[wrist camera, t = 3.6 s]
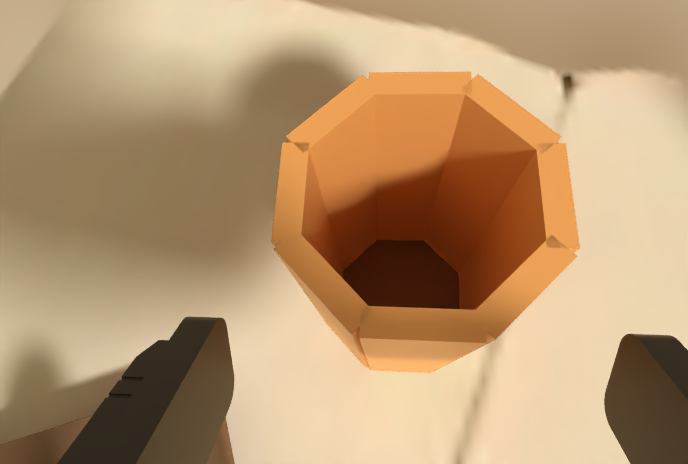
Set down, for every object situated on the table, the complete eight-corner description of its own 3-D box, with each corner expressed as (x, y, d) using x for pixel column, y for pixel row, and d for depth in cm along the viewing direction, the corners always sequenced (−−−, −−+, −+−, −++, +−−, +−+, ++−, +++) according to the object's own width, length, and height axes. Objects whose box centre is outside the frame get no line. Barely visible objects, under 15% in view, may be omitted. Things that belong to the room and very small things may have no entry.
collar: (471, 228, 19) (555, 70, 10) (478, 374, 17) (592, 348, 8) (332, 226, 20) (289, 73, 11) (323, 367, 18) (260, 333, 9)
